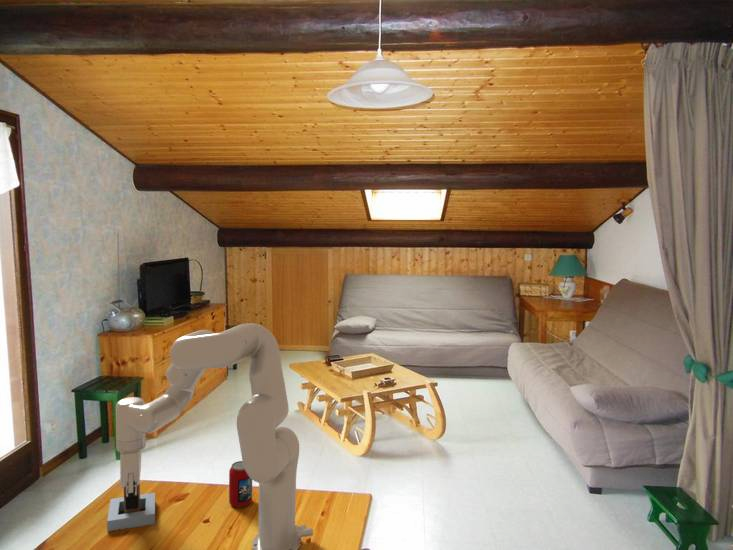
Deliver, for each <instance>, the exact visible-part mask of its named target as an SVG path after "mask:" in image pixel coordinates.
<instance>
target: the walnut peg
mask: <svg viewBox="0 0 733 550" xmlns="http://www.w3.org/2000/svg"><path fill="white" fill-rule="evenodd" d="M133 477H134V473H133ZM128 478H129V477H128ZM140 482H141V480H140V481H139V485H138V486H137V494H138V508H135V509H129V510H126V501H125V496H126V486H125V487H123V497H124V511H123V512H124V513H123V514H126V513H133V512H139V511H141V509H140V495H141V483H140ZM133 484H135V482H134V483H133ZM133 489H135V487H133Z"/></svg>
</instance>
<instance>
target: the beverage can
mask: <svg viewBox="0 0 733 550" xmlns="http://www.w3.org/2000/svg"><path fill="white" fill-rule="evenodd" d="M228 473H229V474H228V497H229V498H228V502H229V504H230V505H231V506H232V507H235V508H244V507H246V505H247V506H248V505H249V504H251V503H252V501H253V480H252V479H251V478H250V477H249V476H248V474H247V473H246V471H245V468H244V465H243V461H242V460H240V461H239V460H238V461H235V462H233V463H232V464H231V467H230V469H229V470H228Z"/></svg>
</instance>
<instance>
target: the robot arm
mask: <svg viewBox="0 0 733 550" xmlns="http://www.w3.org/2000/svg"><path fill="white" fill-rule="evenodd" d="M169 357H170V361H171V363H170V365H169V366H168V367H167V369H166V370H165V377H166V380H167V382H169V386H168V387H167V388H166V391H164V393H163V394H162V395H161V396H160V397H157V398H156V399H154V400H152V401H150V402H148V403H145V400H144V399H143V398H141V397H137V396H132V397H131V396H129V397H124V398H122V399H120V400H118V401H117V403H116V404H115V437H116V439H115V441H116V443H115V444H116V451H117V452H118V453H120V455H119V456H120V457H119V468H120V469H119V471H120V472H119V474H120V476H119V480H120V481H119V482H120V484H119V487H120V488H121V489H124V487H125V486H126V496H125V501H126V510H129V509H135V508H138V494H137V486H138V485H139V481H140V482H141V471H142V450H143V449H144V450H145V448H146V447H147V445H146V444H147V443H146V442H147V437H146V434H152V433H154V432H156V431H158V430H160V429H161V428H162V427H164V426H166V425H167V424H169V423H171V422H172V421H174V420H175V419H177V418H178V417H179V416H180V415H181V414H182V412H184V410H185V408H186V407H187V405H188V404H189V403H190V401H191V400H192V398H193V395H194V394H195V388H196V387H195V386H196V385H197V383H198V382H199V381H200V379H201V378H202V376H203V375H204V374H205V372H206V370H209V369H218V368H219V369H220V368H227V367H230V366H233V365H235V364H238V363H239V362H240V363H241V361H243V360H245V359H247V358H249V368H248V377H249V382H250V383H249V385H250V390H251V397H250V399H249V400H247V401H246V402H245V403H243V404H242V406H241V407H240V409H239V410H238V413H237V417H236V431H237V435H238V437H237V438H238V443H239V448H240V454H241V461H243V465H244V468H245V471H246V473H247V474H248V476H249V477H250V478H251V479H252V481H254V482H255V483H258V526H257V527H258V531H257V532H258V533H257V534H256V535H255V536H254V538H253V540H252V541H251V548H252V550H297V549H298V548H299V546H300V547H301V544H300V543H302V542H301V539H302V538H305V537H310V536H311V537H312V536H314V532H313V527H307V526H306V524H302V525H301V524H300V525H296V503H297V502H296V498H297V497H296V495H297V471H298V463H299V456H300V442H299V438H298V436H297V434H296V433H295V432H294V431H293V430H292V429H291V428H288V427H285V426H279V425H281V424H282V423H283V422H284V421H285V419H286V418H287V417H288V414H289V411H290V410H289V409H290V408H289V402H288V395H287V391H286V390H287V389H286V383H285V378H284V373H283V366H282V359H281V351H280V347H279V344H278V342H277V339H276V337H275V336H274V334H273V333H272V332H271V331H270V330H269V329H268V328H266V327H265V326H264V325H260V324H258V323H253V322H249V323H248V322H247V323H240V324H239V325H236V326H233V327H231V328H229V329H225V330H223V331H221V332H216V333H215V332H213V331H211V330H208V329H200V330H196V331H193V332H191V333H188V334H185V335H183V336H181V337H179V338H177V339H175V341H173V343H172V345H171V346H170V350H169ZM133 473H134V477H133ZM128 477H129V478H128ZM134 482H135V484H133V483H134ZM133 487H135V489H133ZM299 549H300V548H299ZM299 549H298V550H299Z"/></svg>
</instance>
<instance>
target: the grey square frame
mask: <svg viewBox="0 0 733 550" xmlns="http://www.w3.org/2000/svg"><path fill="white" fill-rule="evenodd" d="M141 509H145V510H142V511H141ZM120 511H121V512H124V496H123V497H122V496H121V497H115V498H110V501H109V508H108V514H107V517H106V519H107V520H106V531H108V532H113V530H114V531H119V530H118V529H121V530H125V529H126V528H127V529H131V528H137V527H138V528H139V527H145V526H152V525H155V524H156V493H155V492H151V493H149V492H148V493H143V494H140V511H139V512H133V513H126V514H124V513H121V512H120ZM119 513H120V514H119Z"/></svg>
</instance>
